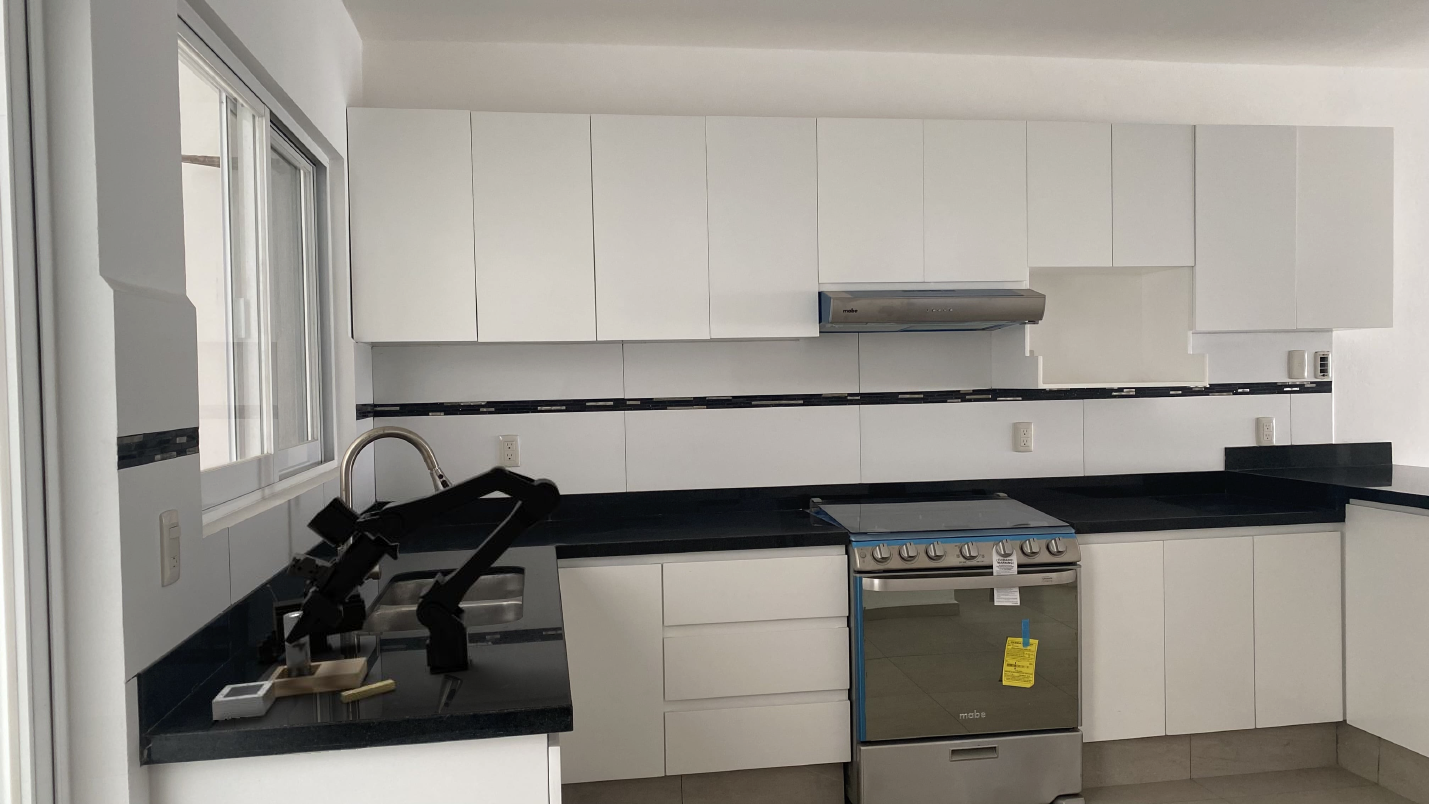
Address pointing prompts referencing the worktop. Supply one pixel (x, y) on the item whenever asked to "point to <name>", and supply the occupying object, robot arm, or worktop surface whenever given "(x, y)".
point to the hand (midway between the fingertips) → (287, 639)
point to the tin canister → (296, 650)
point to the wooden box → (321, 677)
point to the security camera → (318, 640)
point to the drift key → (367, 691)
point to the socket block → (244, 700)
